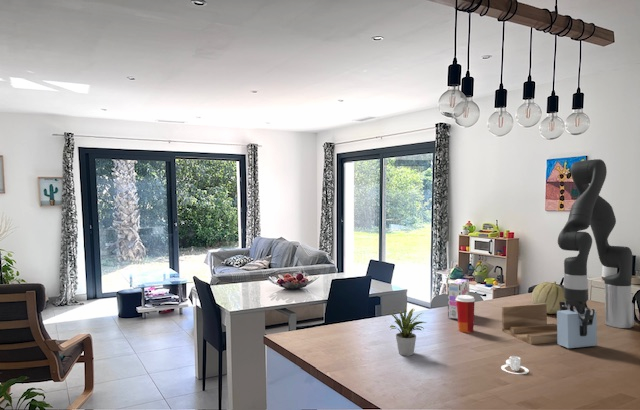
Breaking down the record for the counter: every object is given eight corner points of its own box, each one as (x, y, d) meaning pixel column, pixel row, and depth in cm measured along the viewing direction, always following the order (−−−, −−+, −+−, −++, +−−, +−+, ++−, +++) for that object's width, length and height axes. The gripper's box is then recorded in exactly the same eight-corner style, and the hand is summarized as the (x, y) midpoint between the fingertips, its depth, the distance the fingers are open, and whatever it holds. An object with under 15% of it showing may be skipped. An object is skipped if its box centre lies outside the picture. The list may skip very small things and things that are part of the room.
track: (502, 331, 171) (501, 306, 171) (545, 327, 175) (544, 303, 175) (531, 344, 155) (530, 317, 155) (577, 340, 159) (577, 313, 159)
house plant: (393, 363, 139) (392, 313, 139) (376, 349, 152) (376, 304, 152) (432, 358, 142) (431, 310, 142) (412, 345, 156) (411, 301, 156)
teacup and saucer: (505, 363, 138) (505, 350, 138) (532, 368, 133) (532, 356, 133) (497, 371, 131) (497, 358, 131) (525, 377, 126) (525, 364, 126)
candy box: (460, 320, 188) (459, 283, 188) (447, 318, 191) (446, 282, 191) (470, 314, 199) (469, 279, 199) (458, 312, 202) (457, 278, 202)
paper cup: (473, 328, 176) (472, 294, 176) (478, 333, 168) (477, 298, 168) (453, 327, 177) (453, 294, 177) (458, 333, 169) (457, 298, 169)
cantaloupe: (524, 311, 202) (524, 280, 202) (549, 308, 207) (548, 277, 207) (550, 318, 188) (549, 285, 188) (575, 315, 193) (574, 283, 193)
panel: (585, 340, 155) (585, 308, 155) (597, 345, 150) (596, 311, 150) (557, 343, 153) (556, 310, 153) (568, 348, 148) (567, 314, 148)
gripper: (601, 289, 145) (602, 338, 145) (569, 282, 160) (570, 327, 160) (583, 291, 144) (584, 340, 144) (552, 283, 158) (553, 328, 158)
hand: (576, 333), depth 152 cm, fingers closed on panel, 5 cm apart
